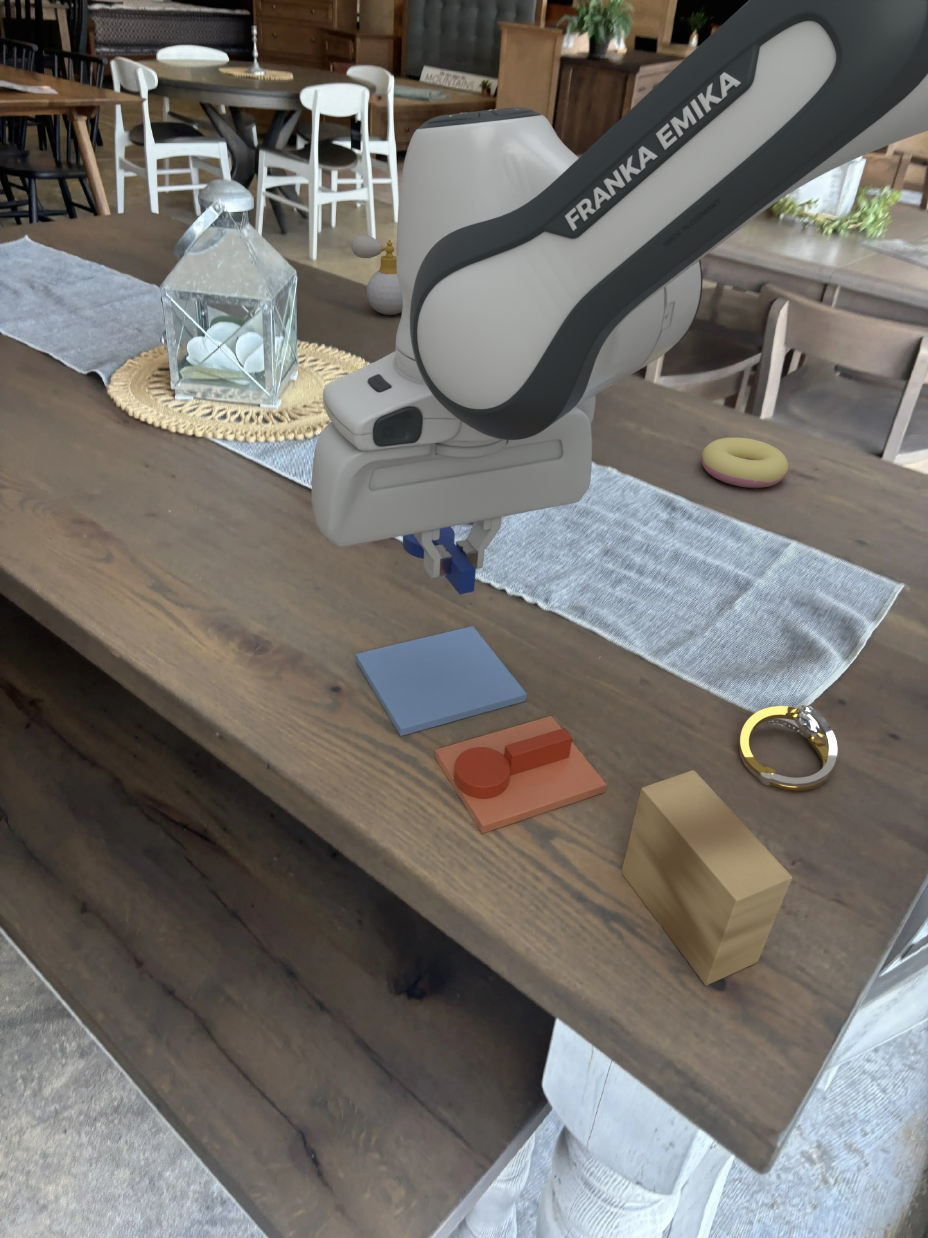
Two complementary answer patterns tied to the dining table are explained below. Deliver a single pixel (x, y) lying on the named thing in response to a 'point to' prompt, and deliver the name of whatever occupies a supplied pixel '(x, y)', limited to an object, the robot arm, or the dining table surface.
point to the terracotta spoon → (507, 763)
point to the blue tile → (439, 679)
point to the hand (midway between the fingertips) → (452, 569)
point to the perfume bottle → (381, 275)
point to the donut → (744, 462)
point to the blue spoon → (460, 565)
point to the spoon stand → (703, 876)
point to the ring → (807, 726)
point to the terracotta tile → (525, 779)
